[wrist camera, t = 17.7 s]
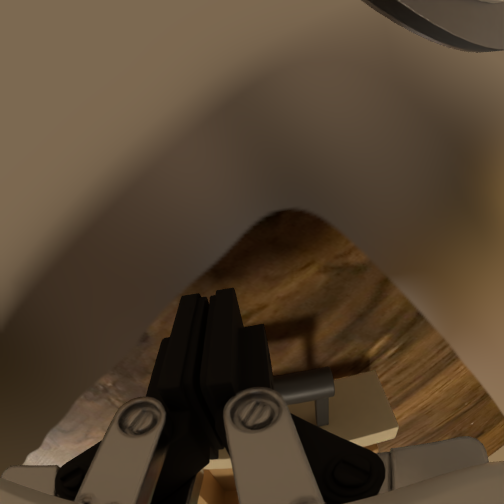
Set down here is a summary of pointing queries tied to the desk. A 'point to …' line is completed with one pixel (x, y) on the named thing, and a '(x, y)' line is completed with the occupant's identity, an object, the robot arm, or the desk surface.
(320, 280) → the desk surface
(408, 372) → the desk surface
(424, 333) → the desk surface
